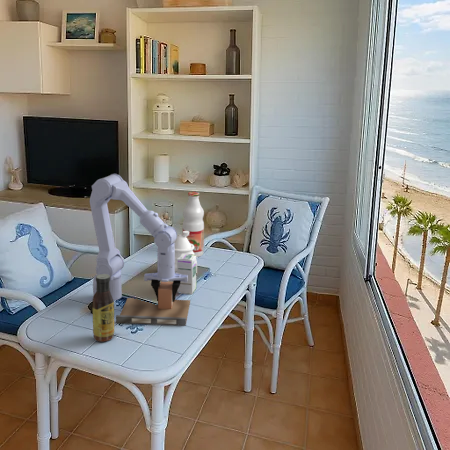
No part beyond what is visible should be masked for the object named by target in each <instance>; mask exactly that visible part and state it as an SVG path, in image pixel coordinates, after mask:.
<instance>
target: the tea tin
mask: <svg viewBox="0 0 450 450" xmlns="http://www.w3.org/2000/svg"><path fill="white" fill-rule="evenodd" d="M172 284H173V281H168V282H162V281H160V286H159V289H158V309H172V305H173V302H172V296H173V288H172Z"/></svg>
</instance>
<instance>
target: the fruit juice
mask: <svg viewBox="0 0 450 450" xmlns="http://www.w3.org/2000/svg"><path fill="white" fill-rule="evenodd" d="M200 195H201V194H200V192H198V191H189V192H188V193H187V196H188V200H187V202H186V205H185V206H184V208H183V211H182V216H183V221H182V232H183V231H189V235H188V236H187V237H186V238H187V239H188V241H189V243H191V244H193V245H194V249H193V252H194V254H195V255H196V258H198V257H202V256H203V255H204V247H205V244H204V243H205V241H204V239H205V222H204V215H205V211H204V208H203V207H202V205H201V202H200V199H199V198H200Z"/></svg>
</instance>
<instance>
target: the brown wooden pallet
mask: <svg viewBox="0 0 450 450" xmlns="http://www.w3.org/2000/svg"><path fill="white" fill-rule="evenodd" d="M134 298H135V297H127V298H126V301H125V303H124V305H123V308H122V309H121V311H120V314H116V315H115V323H116V324H133V325H158V326H159V325H162V326H163V325H164V326H183V327H184V326H187V321H188V315H189V310H190V305H191V300H190V299H188V300H187V299H175V301H174V302H173V305H172V309H158V305H155V304H152V303H149V302H145V301H141V300H138V299H134Z"/></svg>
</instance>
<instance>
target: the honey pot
mask: <svg viewBox="0 0 450 450" xmlns="http://www.w3.org/2000/svg"><path fill="white" fill-rule="evenodd" d="M188 235H189V231H183V230H182V234H181V233H180V234H177V239H176V240H175V241H174V242H173V243H175V273H177V259H178V258H179V257H180V256H181V254H193V255H195V254H194V252H193V249H194V245H193V244H191V243H189V241H188V239H187V238H186V237H187V236H188ZM196 273H197V274H198V261H197V260H196Z"/></svg>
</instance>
